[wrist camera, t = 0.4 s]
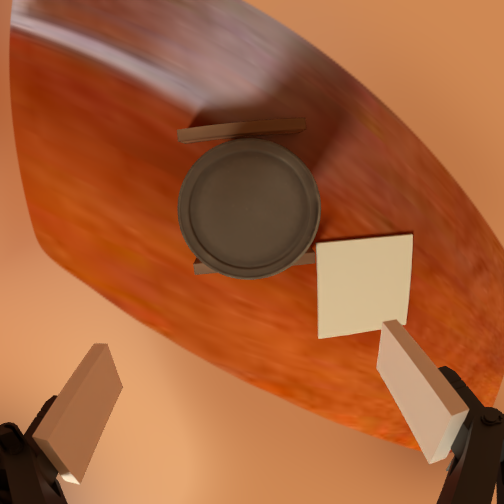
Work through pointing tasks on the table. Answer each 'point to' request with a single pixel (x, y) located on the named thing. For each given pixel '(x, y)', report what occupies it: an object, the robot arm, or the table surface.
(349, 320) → the mat
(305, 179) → the coffee can
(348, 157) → the table surface
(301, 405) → the table surface
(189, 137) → the wooden bars
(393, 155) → the table surface
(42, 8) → the table surface
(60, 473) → the robot arm
